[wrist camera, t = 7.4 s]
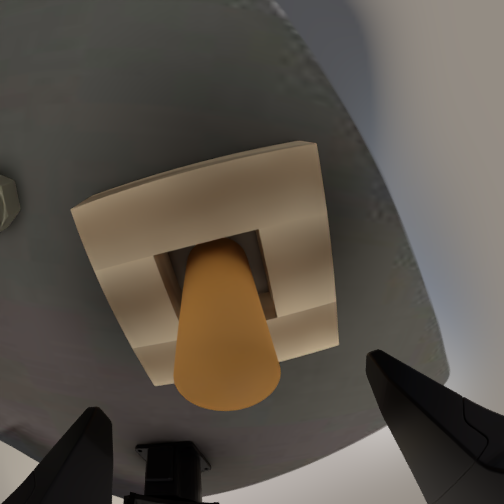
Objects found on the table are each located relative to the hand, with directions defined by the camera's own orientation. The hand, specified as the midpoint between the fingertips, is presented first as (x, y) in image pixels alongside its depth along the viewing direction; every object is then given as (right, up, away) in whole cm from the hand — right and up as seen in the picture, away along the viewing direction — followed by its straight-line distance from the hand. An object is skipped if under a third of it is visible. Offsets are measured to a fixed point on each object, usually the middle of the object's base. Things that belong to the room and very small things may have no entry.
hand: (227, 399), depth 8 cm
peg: (-1, +4, +9) cm, 10 cm away
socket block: (-1, +4, +9) cm, 10 cm away
